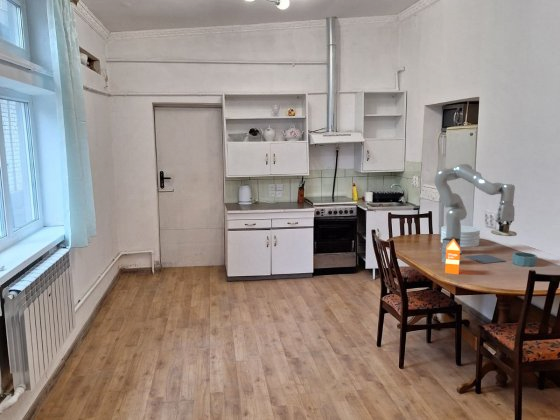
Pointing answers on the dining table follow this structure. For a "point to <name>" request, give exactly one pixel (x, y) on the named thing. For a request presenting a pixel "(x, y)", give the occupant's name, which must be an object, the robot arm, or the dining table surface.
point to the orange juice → (452, 258)
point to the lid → (504, 231)
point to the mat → (485, 259)
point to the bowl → (524, 259)
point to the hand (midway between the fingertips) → (503, 230)
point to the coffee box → (446, 243)
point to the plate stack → (465, 236)
